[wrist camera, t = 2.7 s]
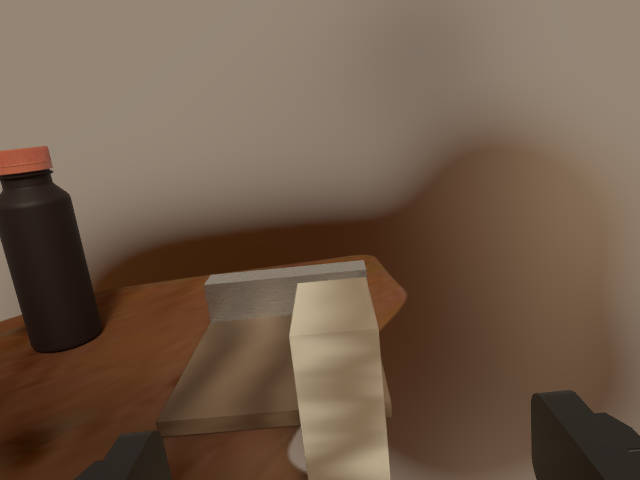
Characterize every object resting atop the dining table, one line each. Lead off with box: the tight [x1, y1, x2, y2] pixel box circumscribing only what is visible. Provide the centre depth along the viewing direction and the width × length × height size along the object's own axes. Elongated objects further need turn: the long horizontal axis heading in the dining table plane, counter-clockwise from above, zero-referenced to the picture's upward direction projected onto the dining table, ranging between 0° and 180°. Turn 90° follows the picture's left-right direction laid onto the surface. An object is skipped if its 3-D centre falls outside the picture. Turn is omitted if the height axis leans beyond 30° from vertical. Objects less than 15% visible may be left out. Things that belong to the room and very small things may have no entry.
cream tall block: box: [289, 277, 390, 480], centre depth 23 cm, size 4×6×12 cm, turn 179°
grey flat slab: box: [156, 315, 392, 437], centre depth 41 cm, size 16×18×1 cm
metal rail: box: [204, 260, 367, 322], centre depth 49 cm, size 16×3×4 cm, turn 89°
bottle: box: [0, 146, 102, 353], centre depth 48 cm, size 7×7×20 cm
